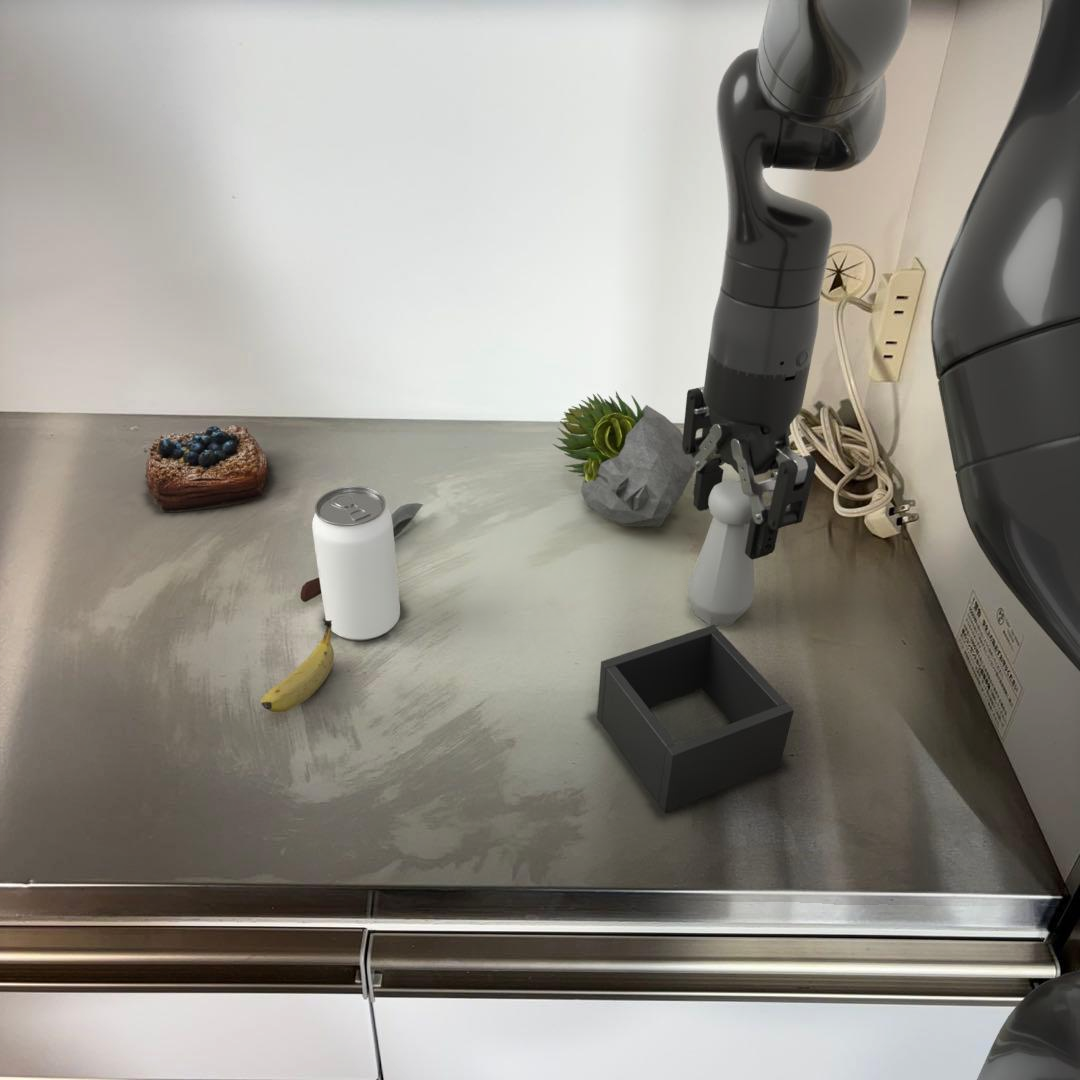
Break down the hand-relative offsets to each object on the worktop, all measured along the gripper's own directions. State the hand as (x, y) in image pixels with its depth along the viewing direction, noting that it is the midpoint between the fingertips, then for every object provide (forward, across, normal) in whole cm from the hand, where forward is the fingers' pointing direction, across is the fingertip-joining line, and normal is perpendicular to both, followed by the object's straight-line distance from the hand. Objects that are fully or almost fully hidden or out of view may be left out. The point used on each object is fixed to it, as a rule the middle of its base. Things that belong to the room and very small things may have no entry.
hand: (730, 530), depth 81 cm
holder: (+9, +12, -11) cm, 19 cm away
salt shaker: (+9, 0, 0) cm, 9 cm away
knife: (+9, -20, -26) cm, 34 cm away
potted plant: (+9, -18, 0) cm, 20 cm away
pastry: (+9, -40, -37) cm, 55 cm away
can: (+9, -12, -29) cm, 33 cm away
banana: (+9, -5, -36) cm, 37 cm away
